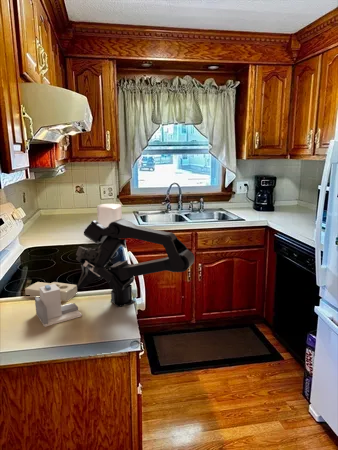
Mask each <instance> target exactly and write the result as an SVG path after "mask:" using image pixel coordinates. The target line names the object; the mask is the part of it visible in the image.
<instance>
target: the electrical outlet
mask: <svg viewBox="0 0 338 450" xmlns="http://www.w3.org/2000/svg"><path fill="white" fill-rule="evenodd" d="M52 284H55V285H56V286H57V287H58V288H59V289H60V296H61V302H69V301H70V300H71V299H73V298H74V297H75V296H77V295H76V293H77V294H78V287H77V285H78V284H73V283H72V284H71V283H64V282H57V281H53V282H51V283H50V282H42V281H41V282H40V281H37V282H35V283H32V284H30V285H29V286H28V287H25V288H24V291H25V296H26V295H30V296H29V297H32V296H40V288H39V287H43V286H45V285H52Z"/></svg>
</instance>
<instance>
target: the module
mask: <svg viewBox="0 0 338 450" xmlns="http://www.w3.org/2000/svg"><path fill="white" fill-rule="evenodd" d="M39 288H40V299H41V301H42V302H43V304H44V305H45V306H46V308H47V317H48V319H51V318H54V317H58V316H62V309H61V306H62V301H61V296H60V289H59V288H58V287H57V286H56V285H55V284H52V285H45V286H43V287H39Z"/></svg>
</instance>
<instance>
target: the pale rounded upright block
mask: <svg viewBox="0 0 338 450" xmlns="http://www.w3.org/2000/svg"><path fill="white" fill-rule="evenodd" d="M96 208H97V209H96V211H97V216H96V217H97V222H98V223H100V224H101V225H102V226H104V227H105V228H106V227H108V226H109V224H110V223H111V222H114V221H116V220H119V219H123V218H122V217H123V215H122V214H123V213H122V212H123V211H122V204H119V203H101V204H98V205H97V206H96Z"/></svg>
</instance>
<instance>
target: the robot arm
mask: <svg viewBox="0 0 338 450" xmlns="http://www.w3.org/2000/svg"><path fill="white" fill-rule="evenodd" d="M83 235H84V237H86V238H87V239H89V240H91V241H92V242H93V243H94V244H97V245H99V244H100V245H99V246H98V247H97V246H96V247H94V248H91V247H88V248H87V247H83V246H78V248H77V251H76V253H75V256H76V258H75V260H77V261H78V262H79V263H81V264H80V267H81V274H80V278H79V280H78V282H77V284H76V285H77V289H82V288H84V287H86V286H88V285H89V284H91V283H93V282H95V281H98V280H101V279H104V280H105V281H107V284H108V285H109V289H110V290H111V292H110V295H111V299H110V302H111V303H113V304H114V305H115V306H116V307H118V308H120V307H123V306H127V305H130V304H133V303H135V300H134V299H133V289H132V288H133V287H132V284H133V283H134V280H135V277H139V276H144V275H149V274H150V275H151V274H154V273H160V272H171V273H184V272H186V271H187V270H188V269H189V268H190V267H191V266H192V265H193V264H194V262H195V255H194V253H193V252H192V251H191V250H190V249H188V248H187V246H186V245H185V243H183V242H182V241H181V240H180V238H179V239H178V236H176V234H175V233H174V232H169V231H163V230H158V229H154V228H150V227H144V226H141V225H137V224H135V223H133V222H132V221H130V220H127V219H126V218H122V219H119V220H116V221H114V222H111V223H110V224H109V226H108V227H106V228H105V227H104V226H102V225H101V224H100V223H98V220H96V219H94V220H92V221H91V222H90V224H88V226H87V227H86V228H85V229H84V231H83ZM126 239H136V240H139V241H145V242H149V243H153V244H157V245H161V246H163V248H164V250H165V253H166V255H167V256H166V257H163V258H157V259H152V260H148V261H143V262H138V263H133V264H131V263H129V262H128V261H129V260H128V259H126V260H124V261H119V260H118V261H117V262H116V263H114V264H113V265H111V266H109V268H108V269H107V268H106V266H107V265H108V263H109V262H113V260H114V258H113V257H114V255H115V253H116V252H117V251H118V250H119V248H120V247H122V248H124V249H127V244H126V243H127V240H126Z"/></svg>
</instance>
